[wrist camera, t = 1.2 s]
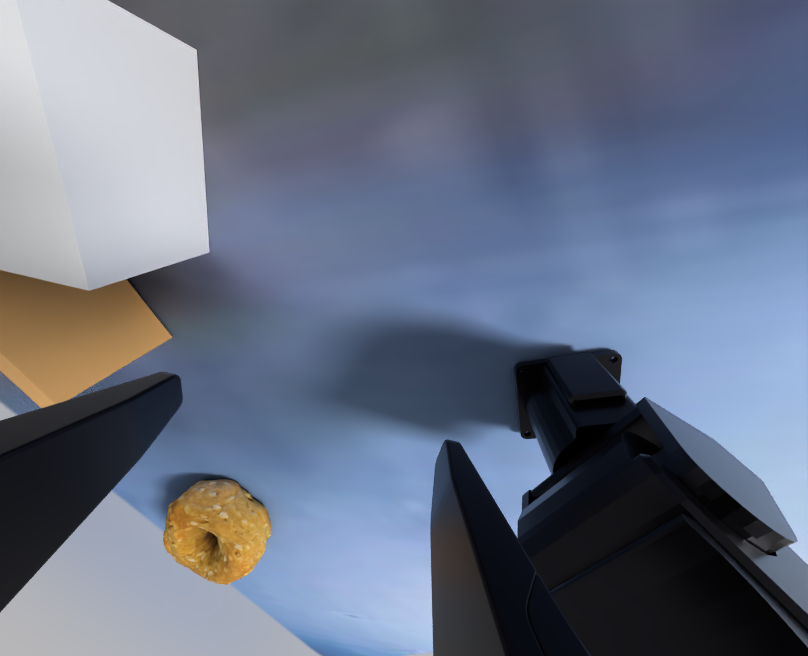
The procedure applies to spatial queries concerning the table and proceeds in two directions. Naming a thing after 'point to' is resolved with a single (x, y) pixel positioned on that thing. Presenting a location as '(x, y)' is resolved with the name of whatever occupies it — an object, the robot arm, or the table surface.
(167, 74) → the white block
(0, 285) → the side door
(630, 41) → the table surface
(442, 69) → the table surface
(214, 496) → the bagel
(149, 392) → the robot arm
